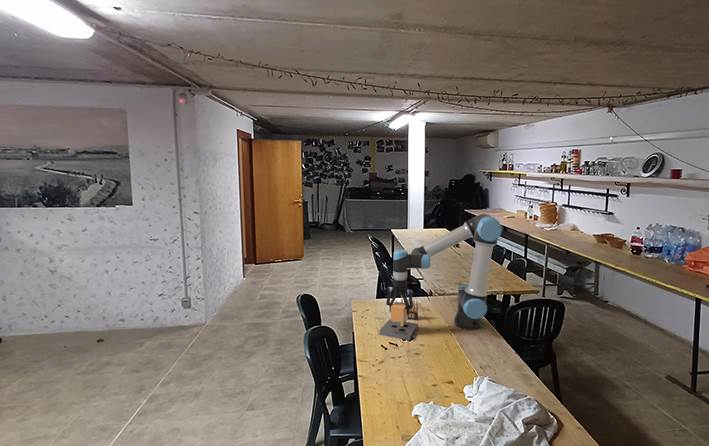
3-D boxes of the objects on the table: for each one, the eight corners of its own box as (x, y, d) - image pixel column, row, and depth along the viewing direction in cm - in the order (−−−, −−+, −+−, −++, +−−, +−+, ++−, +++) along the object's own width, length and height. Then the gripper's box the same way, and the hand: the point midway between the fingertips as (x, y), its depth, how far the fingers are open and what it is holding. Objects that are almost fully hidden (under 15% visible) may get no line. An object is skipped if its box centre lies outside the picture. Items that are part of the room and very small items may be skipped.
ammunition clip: (418, 319, 233) (418, 300, 231) (417, 320, 231) (418, 301, 229) (400, 317, 236) (400, 297, 234) (399, 318, 235) (400, 299, 233)
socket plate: (418, 327, 221) (418, 323, 220) (409, 340, 205) (409, 336, 205) (389, 322, 228) (389, 319, 227) (379, 334, 212) (379, 330, 212)
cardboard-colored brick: (407, 320, 218) (408, 303, 216) (403, 326, 211) (403, 308, 209) (395, 318, 221) (395, 301, 219) (390, 324, 214) (390, 306, 212)
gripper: (420, 278, 211) (419, 319, 215) (384, 274, 219) (384, 313, 223) (416, 282, 204) (415, 324, 208) (380, 278, 212) (379, 318, 216)
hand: (399, 318), depth 215 cm, fingers closed on cardboard-colored brick, 7 cm apart
